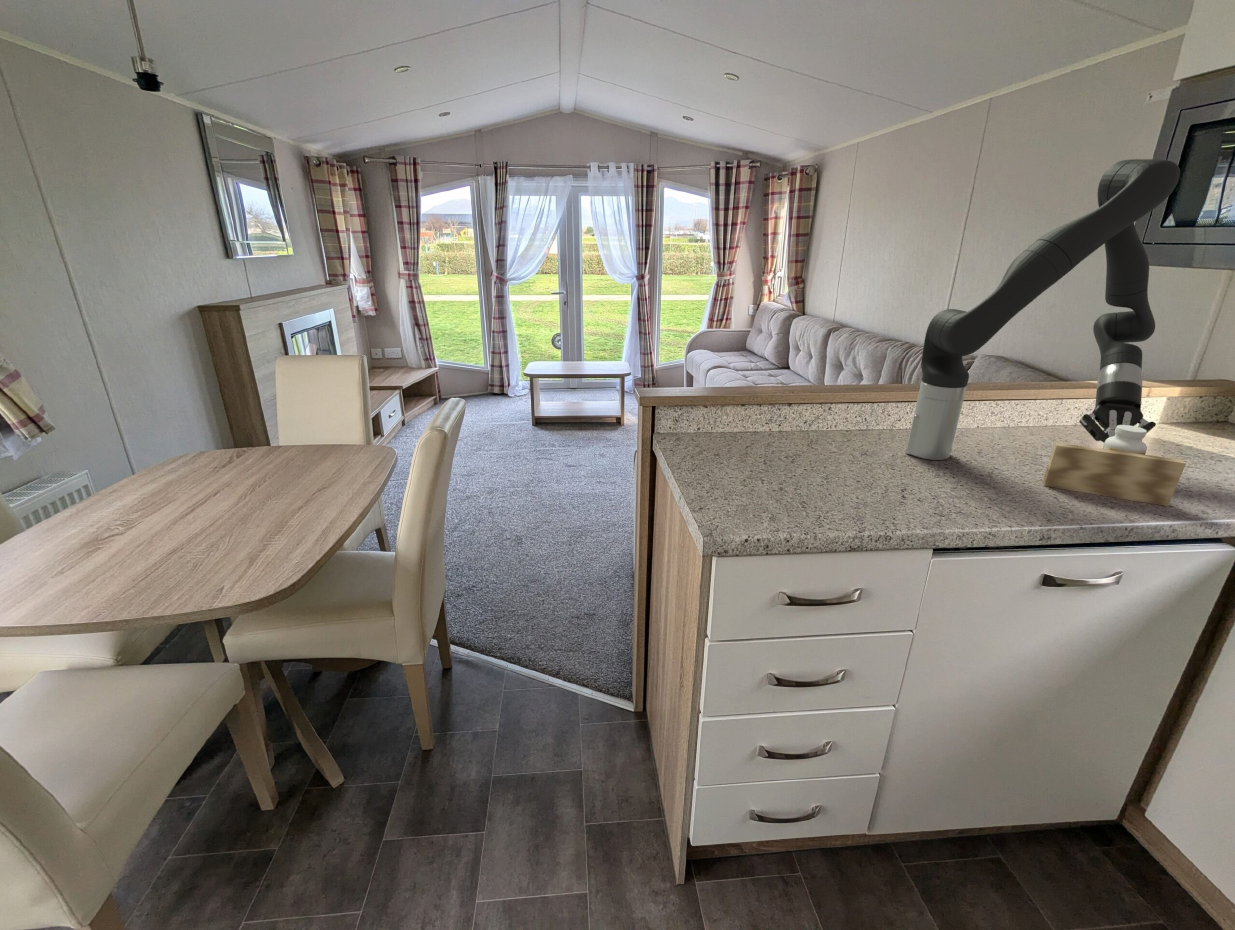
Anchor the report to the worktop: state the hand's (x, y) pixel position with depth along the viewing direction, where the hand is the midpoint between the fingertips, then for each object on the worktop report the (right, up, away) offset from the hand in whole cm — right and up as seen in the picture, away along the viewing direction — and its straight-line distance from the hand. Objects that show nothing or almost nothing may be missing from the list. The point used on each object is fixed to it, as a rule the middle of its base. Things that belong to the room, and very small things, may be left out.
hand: (1113, 459), depth 120 cm
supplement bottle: (-2, -6, -1) cm, 6 cm away
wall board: (-5, -6, -3) cm, 9 cm away
